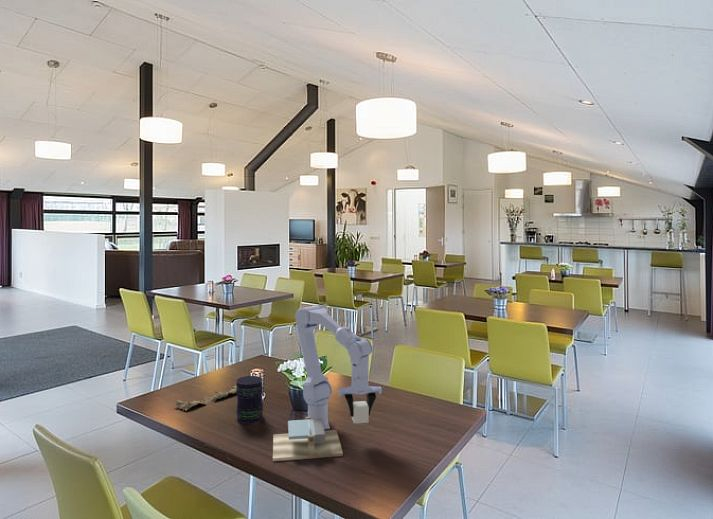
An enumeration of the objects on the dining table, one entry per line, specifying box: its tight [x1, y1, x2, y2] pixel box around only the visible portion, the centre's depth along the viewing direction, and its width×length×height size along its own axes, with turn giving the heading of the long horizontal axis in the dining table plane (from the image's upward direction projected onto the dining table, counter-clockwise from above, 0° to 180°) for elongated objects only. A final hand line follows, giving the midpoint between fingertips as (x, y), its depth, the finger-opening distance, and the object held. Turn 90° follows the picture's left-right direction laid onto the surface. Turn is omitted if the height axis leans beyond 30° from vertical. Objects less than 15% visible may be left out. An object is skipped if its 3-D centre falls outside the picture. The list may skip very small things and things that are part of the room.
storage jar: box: [235, 375, 264, 425], centre depth 177 cm, size 10×10×15 cm
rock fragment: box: [173, 384, 237, 411], centre depth 199 cm, size 34×10×3 cm, turn 144°
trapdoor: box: [287, 419, 325, 444], centre depth 154 cm, size 12×12×3 cm
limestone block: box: [351, 400, 370, 424], centre depth 157 cm, size 5×5×6 cm
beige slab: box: [272, 416, 344, 462], centre depth 155 cm, size 17×22×7 cm
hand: (359, 415), depth 157 cm, fingers closed on limestone block, 5 cm apart
